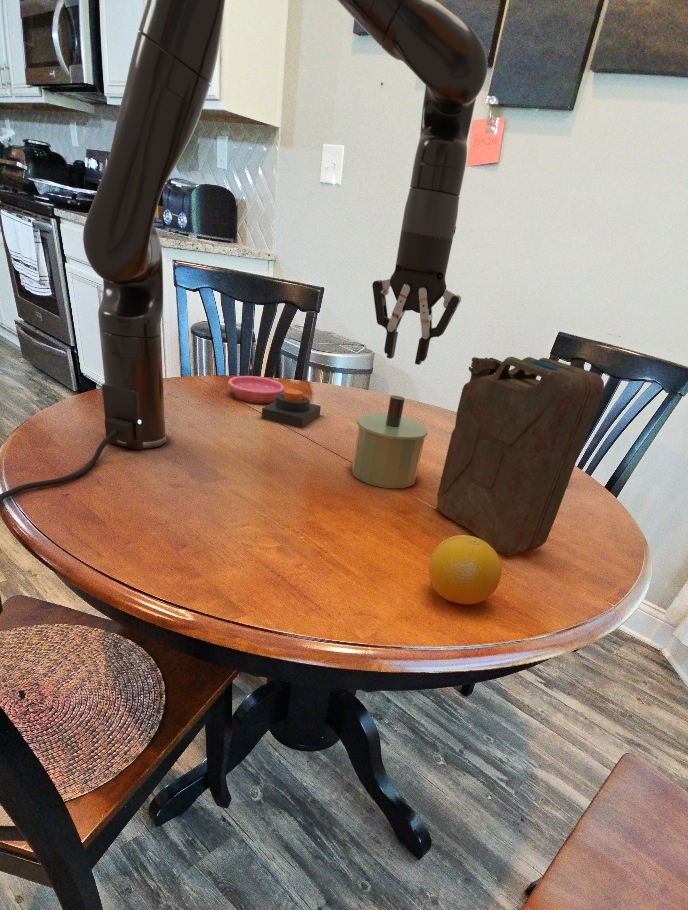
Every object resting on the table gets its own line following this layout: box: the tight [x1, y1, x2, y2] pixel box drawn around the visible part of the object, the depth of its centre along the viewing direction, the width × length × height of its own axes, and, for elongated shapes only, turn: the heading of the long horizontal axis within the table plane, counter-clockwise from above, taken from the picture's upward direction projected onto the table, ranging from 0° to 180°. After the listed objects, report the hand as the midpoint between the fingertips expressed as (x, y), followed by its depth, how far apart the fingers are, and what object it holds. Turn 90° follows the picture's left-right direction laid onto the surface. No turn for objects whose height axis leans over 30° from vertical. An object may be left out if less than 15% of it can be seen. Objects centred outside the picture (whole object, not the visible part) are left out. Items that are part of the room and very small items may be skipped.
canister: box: [436, 356, 605, 556], centre depth 85 cm, size 19×8×25 cm, turn 32°
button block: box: [261, 392, 322, 429], centre depth 124 cm, size 11×9×4 cm
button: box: [283, 388, 304, 402], centre depth 123 cm, size 4×4×2 cm
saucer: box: [228, 375, 285, 405], centre depth 133 cm, size 12×12×3 cm
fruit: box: [428, 534, 502, 606], centre depth 72 cm, size 9×8×8 cm
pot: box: [351, 425, 426, 489], centre depth 103 cm, size 11×11×8 cm
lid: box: [356, 394, 429, 440], centre depth 99 cm, size 12×12×6 cm
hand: (404, 360), depth 94 cm, fingers open, 4 cm apart
